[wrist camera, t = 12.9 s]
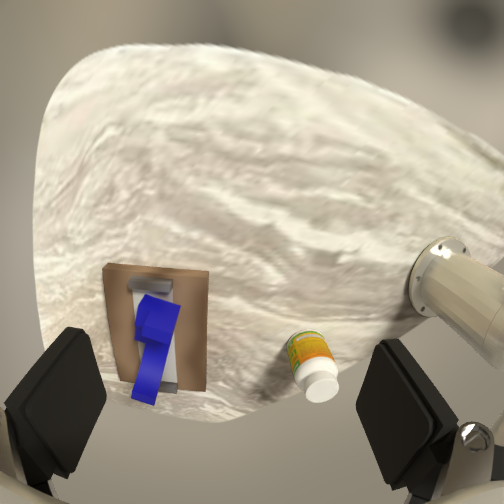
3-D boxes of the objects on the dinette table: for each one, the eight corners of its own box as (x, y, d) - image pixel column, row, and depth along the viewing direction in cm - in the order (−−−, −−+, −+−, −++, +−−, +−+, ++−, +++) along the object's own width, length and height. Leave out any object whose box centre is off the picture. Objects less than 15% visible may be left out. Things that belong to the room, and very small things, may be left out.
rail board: (208, 271, 35) (206, 283, 31) (206, 382, 40) (204, 398, 37) (108, 262, 34) (97, 273, 30) (123, 372, 39) (117, 386, 36)
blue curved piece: (145, 293, 33) (129, 319, 27) (181, 305, 33) (171, 333, 28) (132, 365, 36) (120, 394, 30) (162, 375, 37) (153, 405, 31)
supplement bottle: (284, 332, 38) (297, 380, 29) (323, 324, 38) (345, 369, 29) (288, 362, 40) (300, 411, 30) (324, 354, 40) (344, 400, 30)
